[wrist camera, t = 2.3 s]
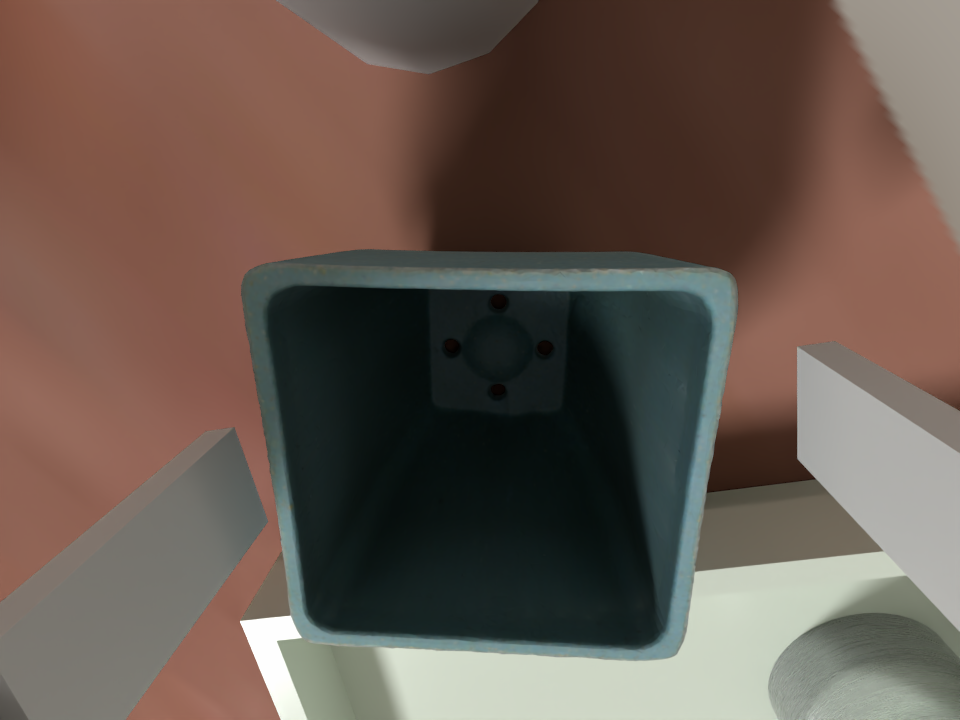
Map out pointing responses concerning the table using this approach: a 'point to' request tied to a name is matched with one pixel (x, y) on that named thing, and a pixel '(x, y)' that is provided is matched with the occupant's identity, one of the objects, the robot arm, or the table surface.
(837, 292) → the table surface
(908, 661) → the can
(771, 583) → the shallow serving tray
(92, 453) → the table surface
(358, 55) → the cup
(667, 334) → the flower pot
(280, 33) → the table surface
